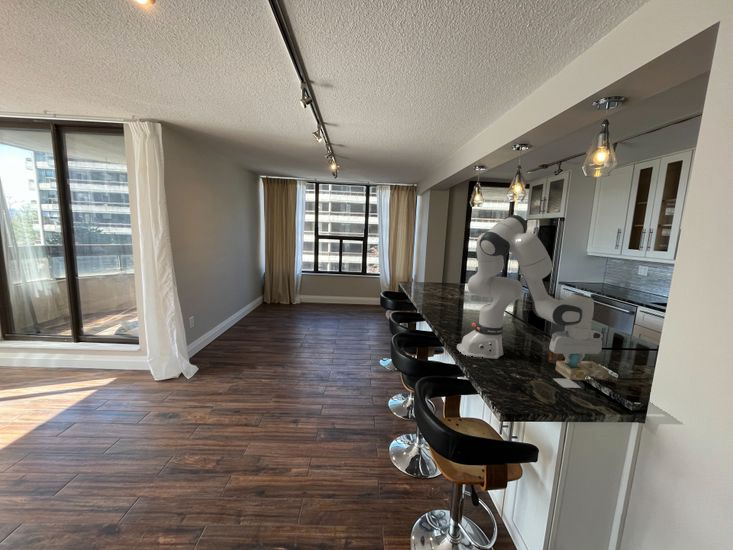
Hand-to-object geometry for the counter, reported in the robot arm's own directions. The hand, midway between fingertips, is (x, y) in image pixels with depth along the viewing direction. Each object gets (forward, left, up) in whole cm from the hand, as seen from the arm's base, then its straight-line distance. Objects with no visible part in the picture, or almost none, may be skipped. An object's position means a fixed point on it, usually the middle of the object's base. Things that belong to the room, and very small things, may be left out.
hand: (572, 362), depth 127 cm
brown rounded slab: (+3, +15, -7) cm, 17 cm away
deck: (-7, -7, -6) cm, 12 cm away
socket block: (+4, 0, -6) cm, 8 cm away
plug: (0, 0, -3) cm, 3 cm away
